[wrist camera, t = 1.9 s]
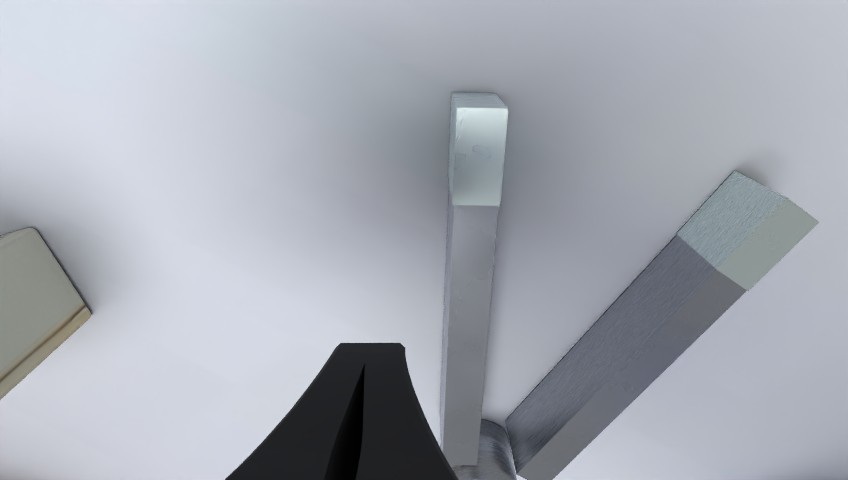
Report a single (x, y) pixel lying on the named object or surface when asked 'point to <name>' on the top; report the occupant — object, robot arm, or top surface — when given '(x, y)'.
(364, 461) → the robot arm
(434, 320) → the top surface
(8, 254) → the skincare box
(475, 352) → the tongs moving leg
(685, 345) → the bar
